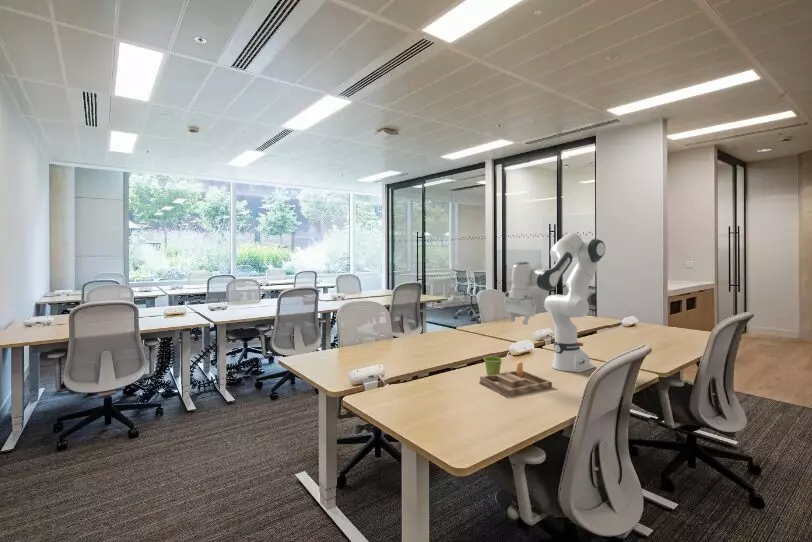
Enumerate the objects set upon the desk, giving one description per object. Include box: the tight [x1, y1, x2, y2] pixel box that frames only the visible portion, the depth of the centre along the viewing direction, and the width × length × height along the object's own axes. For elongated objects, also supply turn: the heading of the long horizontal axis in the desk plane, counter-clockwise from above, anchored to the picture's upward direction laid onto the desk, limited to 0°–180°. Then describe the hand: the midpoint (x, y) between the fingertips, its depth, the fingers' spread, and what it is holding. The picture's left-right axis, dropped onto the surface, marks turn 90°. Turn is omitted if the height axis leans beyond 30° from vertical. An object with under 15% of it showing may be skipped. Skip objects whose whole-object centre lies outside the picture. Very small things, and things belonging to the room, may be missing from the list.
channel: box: [478, 370, 553, 399], centre depth 187 cm, size 25×22×3 cm
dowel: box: [515, 361, 524, 378], centre depth 196 cm, size 3×3×8 cm
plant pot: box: [483, 356, 503, 376], centre depth 204 cm, size 9×9×9 cm
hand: (518, 322), depth 197 cm, fingers open, 8 cm apart
